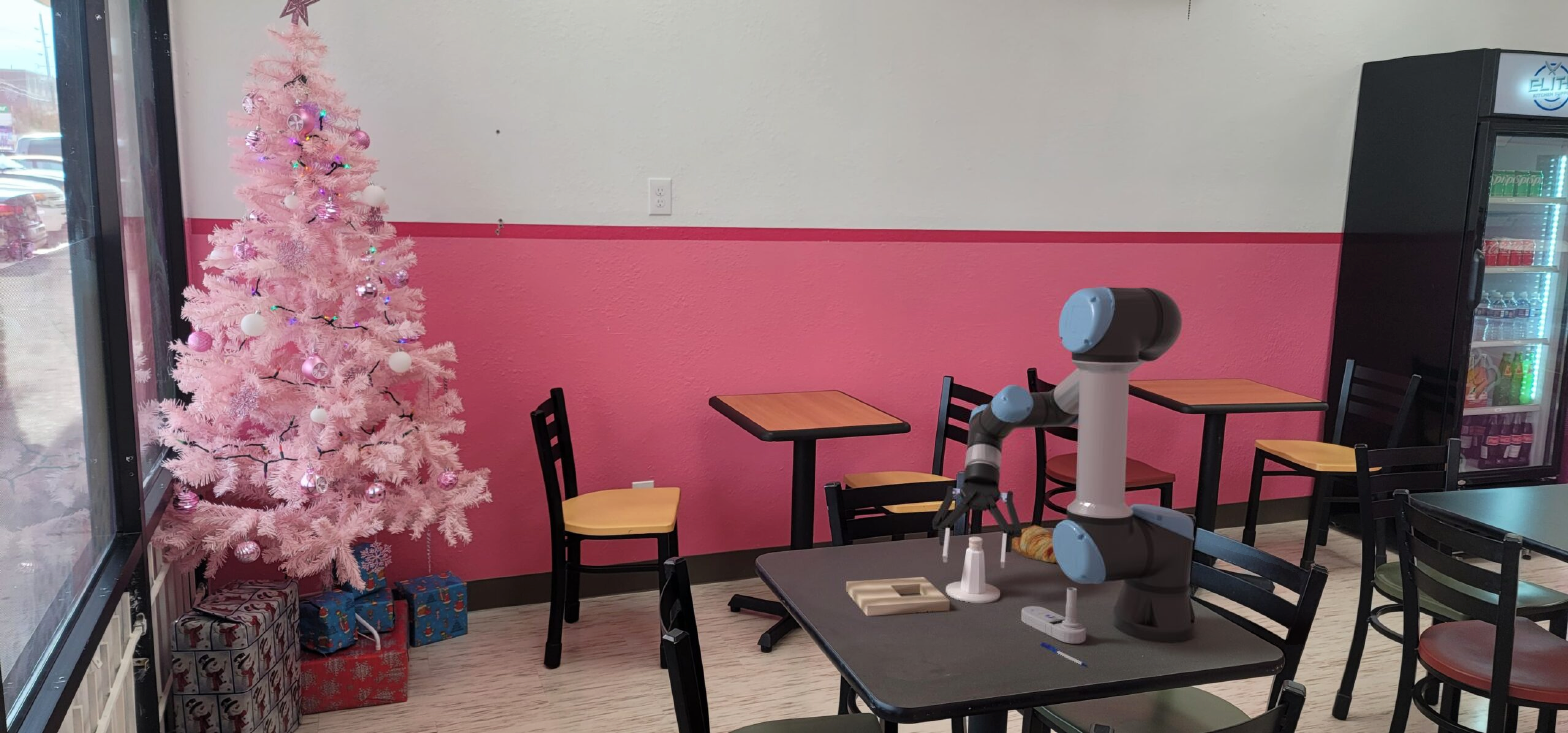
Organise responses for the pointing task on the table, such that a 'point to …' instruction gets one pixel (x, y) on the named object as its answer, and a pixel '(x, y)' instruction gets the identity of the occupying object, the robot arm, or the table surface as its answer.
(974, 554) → the pepper shaker
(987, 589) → the saucer
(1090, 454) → the robot arm
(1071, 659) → the ballpoint pen
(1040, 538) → the croissant
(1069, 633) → the electronic device
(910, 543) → the table surface
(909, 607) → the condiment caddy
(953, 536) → the table surface
